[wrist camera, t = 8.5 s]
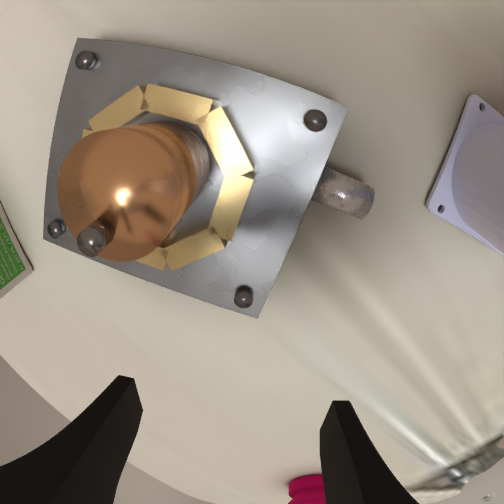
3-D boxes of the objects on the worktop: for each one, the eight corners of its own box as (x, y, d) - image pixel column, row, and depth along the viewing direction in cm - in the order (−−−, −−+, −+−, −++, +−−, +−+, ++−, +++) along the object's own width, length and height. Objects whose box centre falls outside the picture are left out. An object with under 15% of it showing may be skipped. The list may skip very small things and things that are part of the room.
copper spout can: (138, 109, 13) (54, 116, 7) (224, 140, 14) (186, 163, 8) (114, 191, 15) (34, 244, 9) (191, 223, 15) (143, 297, 9)
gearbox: (386, 131, 15) (414, 137, 12) (303, 308, 20) (307, 346, 17) (100, 44, 14) (64, 34, 10) (64, 224, 19) (32, 246, 15)
